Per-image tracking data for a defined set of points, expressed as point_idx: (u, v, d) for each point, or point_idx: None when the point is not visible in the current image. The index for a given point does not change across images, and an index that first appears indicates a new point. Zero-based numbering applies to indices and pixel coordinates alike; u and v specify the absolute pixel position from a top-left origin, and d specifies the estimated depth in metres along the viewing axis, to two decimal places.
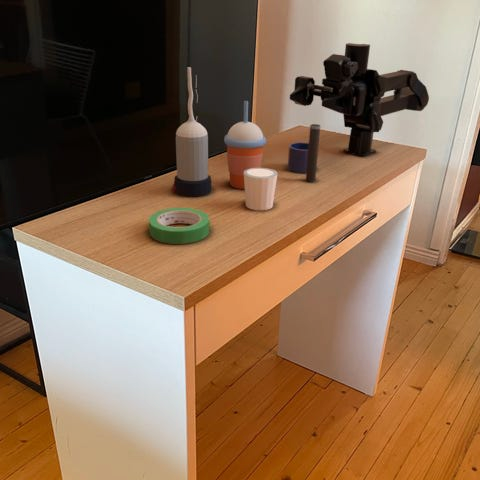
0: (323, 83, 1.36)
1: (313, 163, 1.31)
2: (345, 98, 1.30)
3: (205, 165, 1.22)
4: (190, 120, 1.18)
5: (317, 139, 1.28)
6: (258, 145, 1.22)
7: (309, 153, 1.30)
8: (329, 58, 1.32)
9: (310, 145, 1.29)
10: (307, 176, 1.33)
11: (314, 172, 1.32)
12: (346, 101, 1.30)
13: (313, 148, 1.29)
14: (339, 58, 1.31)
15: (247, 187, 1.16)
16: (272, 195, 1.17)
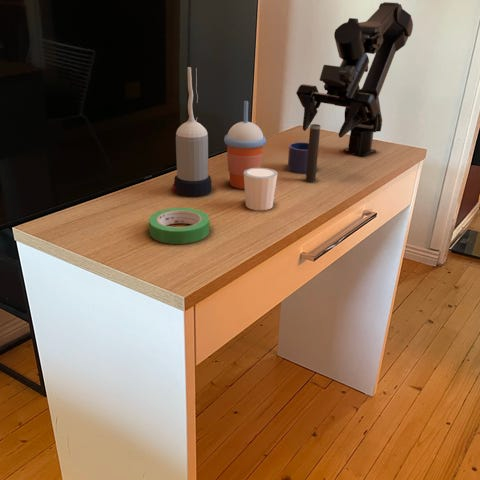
0: (326, 89, 1.31)
1: (313, 163, 1.31)
2: (357, 111, 1.28)
3: (205, 165, 1.22)
4: (190, 120, 1.18)
5: (317, 139, 1.28)
6: (258, 145, 1.22)
7: (309, 153, 1.30)
8: (324, 75, 1.26)
9: (310, 145, 1.29)
10: (307, 176, 1.33)
11: (314, 172, 1.32)
12: (359, 113, 1.28)
13: (313, 148, 1.29)
14: (334, 73, 1.24)
15: (247, 187, 1.16)
16: (272, 195, 1.17)
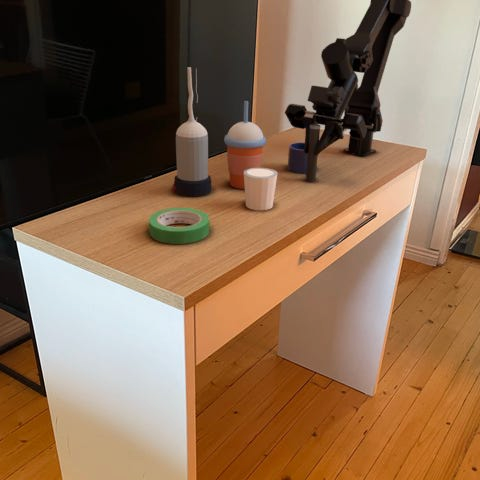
0: (315, 109, 1.30)
1: (313, 163, 1.31)
2: (332, 129, 1.28)
3: (205, 165, 1.22)
4: (190, 120, 1.18)
5: (317, 139, 1.28)
6: (258, 145, 1.22)
7: (309, 153, 1.30)
8: (312, 96, 1.24)
9: (310, 145, 1.29)
10: (307, 176, 1.33)
11: (314, 172, 1.32)
12: (334, 131, 1.29)
13: (313, 148, 1.29)
14: (322, 94, 1.23)
15: (247, 187, 1.16)
16: (272, 195, 1.17)
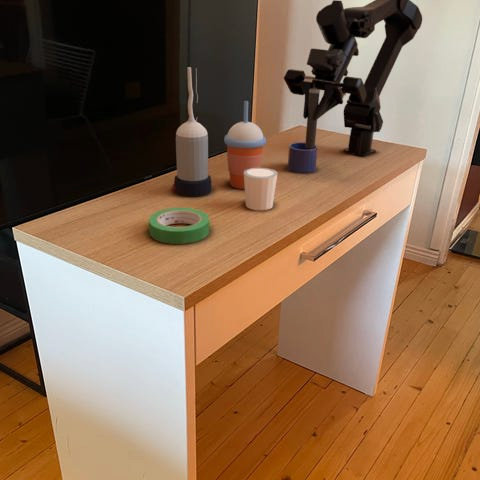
0: (314, 74, 1.29)
1: (312, 129, 1.30)
2: (331, 94, 1.28)
3: (205, 165, 1.22)
4: (190, 120, 1.18)
5: (316, 103, 1.27)
6: (258, 145, 1.22)
7: (308, 118, 1.29)
8: (311, 59, 1.23)
9: (309, 110, 1.28)
10: (306, 142, 1.32)
11: (313, 138, 1.31)
12: (333, 95, 1.28)
13: (312, 113, 1.28)
14: (321, 57, 1.22)
15: (247, 187, 1.16)
16: (272, 195, 1.17)
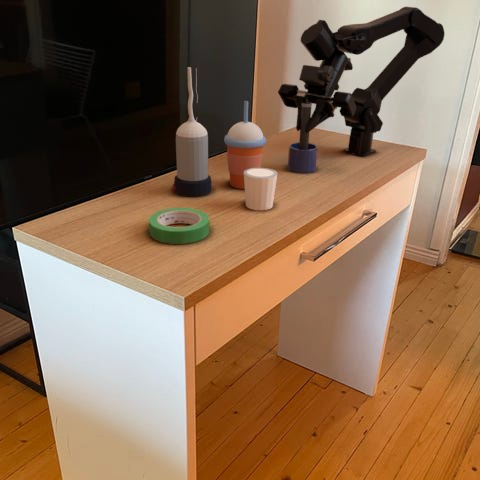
0: None
1: (305, 140, 1.37)
2: (323, 107, 1.34)
3: (205, 165, 1.22)
4: (190, 120, 1.18)
5: (309, 117, 1.34)
6: (258, 145, 1.22)
7: (301, 130, 1.36)
8: (303, 75, 1.30)
9: (302, 122, 1.35)
10: None
11: (306, 149, 1.38)
12: (325, 109, 1.35)
13: (305, 125, 1.35)
14: (313, 73, 1.29)
15: (247, 187, 1.16)
16: (272, 195, 1.17)
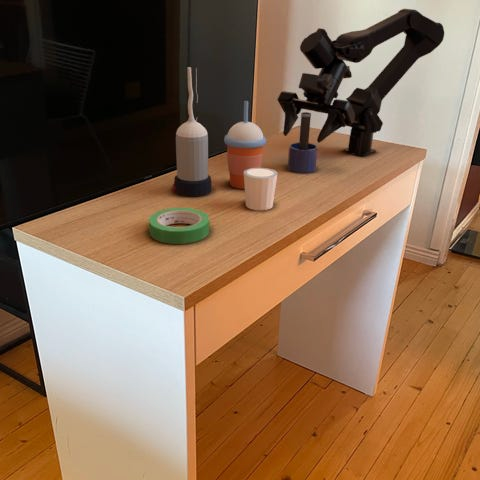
0: (305, 96, 1.37)
1: None
2: (335, 117, 1.34)
3: (205, 165, 1.22)
4: (190, 120, 1.18)
5: (308, 126, 1.35)
6: (258, 145, 1.22)
7: (300, 140, 1.37)
8: (302, 83, 1.31)
9: (301, 132, 1.36)
10: None
11: None
12: (337, 119, 1.34)
13: (304, 135, 1.36)
14: (312, 81, 1.30)
15: (247, 187, 1.16)
16: (272, 195, 1.17)
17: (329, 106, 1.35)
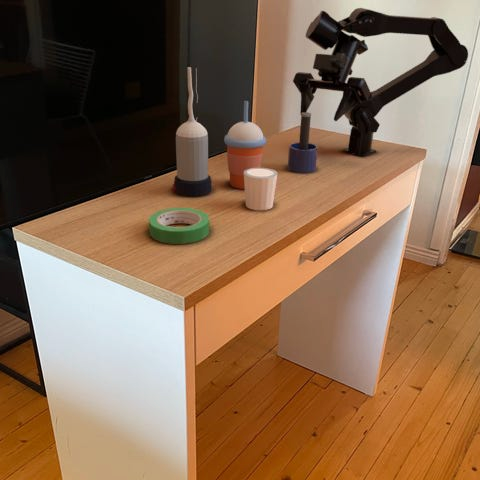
0: (320, 76, 1.39)
1: None
2: None
3: (205, 165, 1.22)
4: (190, 120, 1.18)
5: (308, 126, 1.35)
6: (258, 145, 1.22)
7: (300, 140, 1.37)
8: (316, 63, 1.34)
9: (301, 132, 1.36)
10: None
11: None
12: (352, 96, 1.37)
13: (304, 135, 1.36)
14: (326, 61, 1.33)
15: (247, 187, 1.16)
16: (272, 195, 1.17)
17: (344, 84, 1.38)
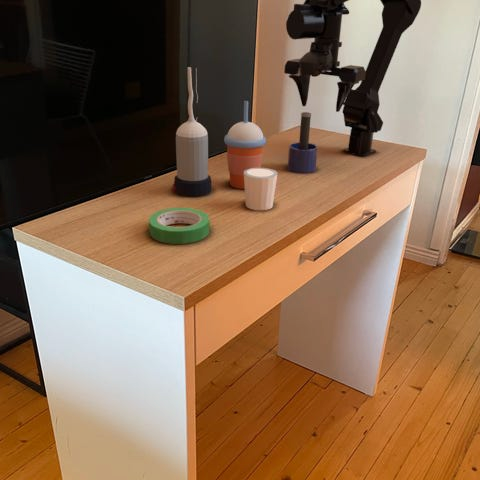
0: None
1: None
2: None
3: (205, 165, 1.22)
4: (190, 120, 1.18)
5: (308, 126, 1.35)
6: (258, 145, 1.22)
7: (300, 140, 1.37)
8: (303, 71, 1.30)
9: (301, 132, 1.36)
10: None
11: None
12: None
13: (304, 135, 1.36)
14: (312, 70, 1.28)
15: (247, 187, 1.16)
16: (272, 195, 1.17)
17: (336, 70, 1.32)
